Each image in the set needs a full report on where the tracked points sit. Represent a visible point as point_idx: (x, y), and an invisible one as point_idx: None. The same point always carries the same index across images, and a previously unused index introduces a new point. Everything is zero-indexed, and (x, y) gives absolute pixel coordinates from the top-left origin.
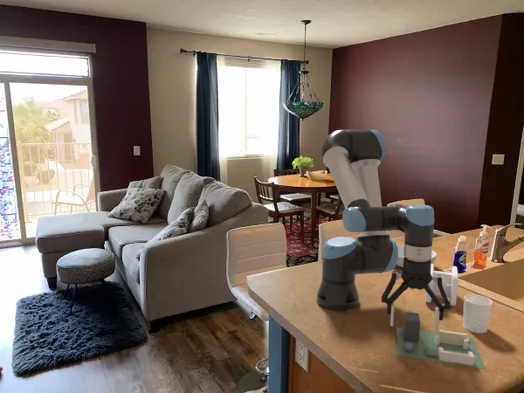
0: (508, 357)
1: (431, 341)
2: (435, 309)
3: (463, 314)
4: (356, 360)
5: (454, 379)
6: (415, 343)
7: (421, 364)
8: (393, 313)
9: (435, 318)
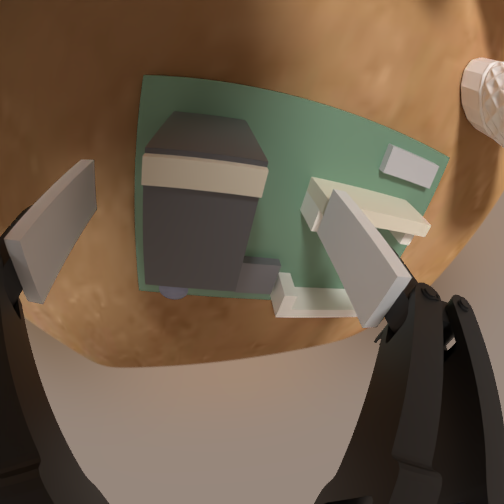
0: (454, 241)
1: (291, 189)
2: (384, 267)
3: (500, 76)
4: (47, 310)
5: (276, 337)
6: None
7: (209, 308)
8: (63, 261)
9: (350, 250)
